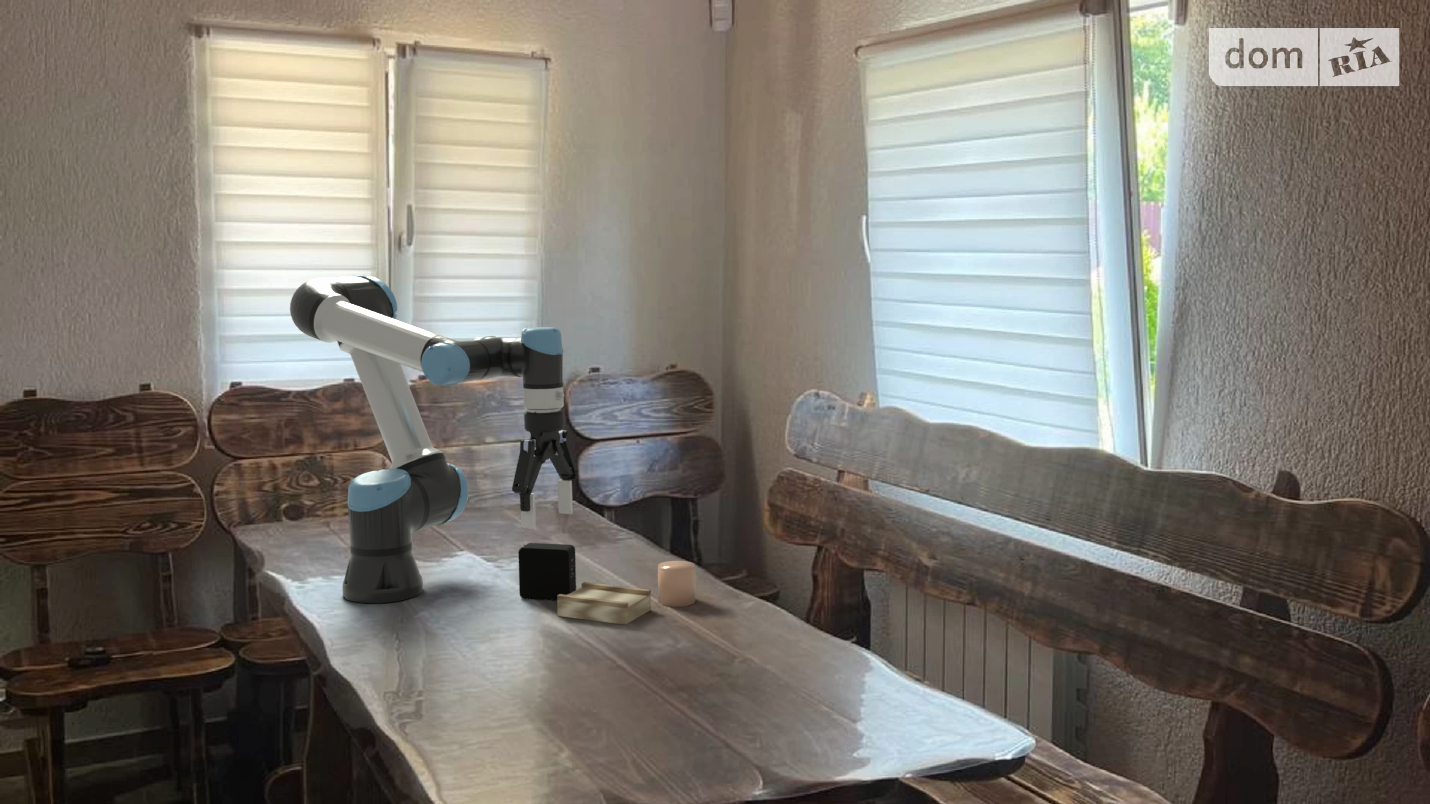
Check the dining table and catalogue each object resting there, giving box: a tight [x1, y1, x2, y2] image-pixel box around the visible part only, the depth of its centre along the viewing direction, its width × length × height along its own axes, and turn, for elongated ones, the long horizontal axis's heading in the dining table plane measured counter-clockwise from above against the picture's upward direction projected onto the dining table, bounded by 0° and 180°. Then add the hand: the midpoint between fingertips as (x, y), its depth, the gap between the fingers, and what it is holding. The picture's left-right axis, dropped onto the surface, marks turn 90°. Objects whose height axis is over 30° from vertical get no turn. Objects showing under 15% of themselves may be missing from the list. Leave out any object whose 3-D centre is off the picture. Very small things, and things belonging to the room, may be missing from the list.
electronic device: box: [518, 542, 577, 602], centre depth 250 cm, size 4×10×10 cm, turn 78°
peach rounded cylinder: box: [657, 560, 696, 608], centre depth 247 cm, size 7×7×7 cm
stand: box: [556, 581, 652, 626], centre depth 240 cm, size 14×10×4 cm
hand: (547, 520), depth 248 cm, fingers open, 13 cm apart
